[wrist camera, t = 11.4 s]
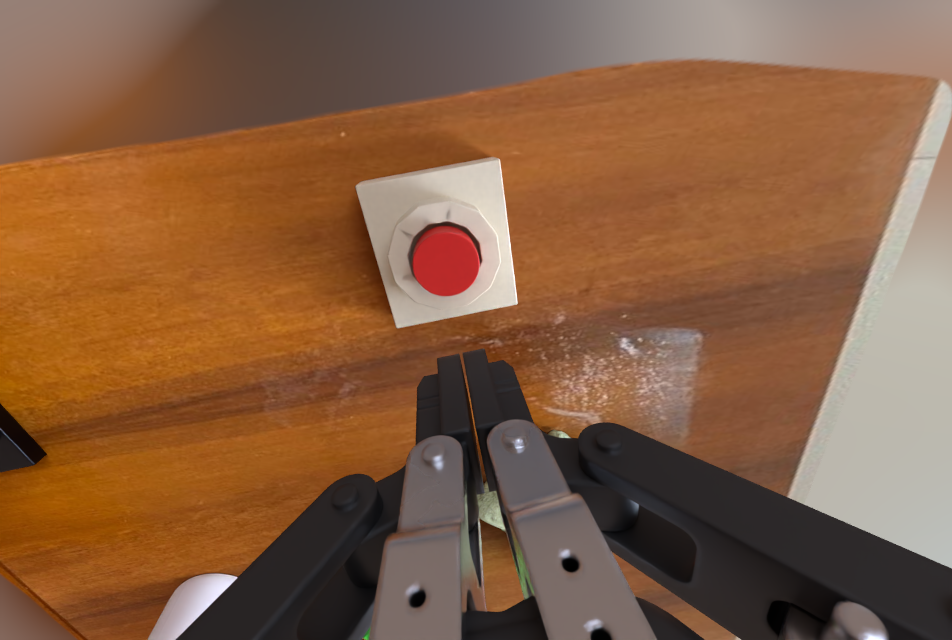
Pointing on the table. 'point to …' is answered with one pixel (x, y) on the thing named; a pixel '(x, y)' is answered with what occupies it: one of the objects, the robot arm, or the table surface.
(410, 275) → the button box
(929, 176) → the table surface
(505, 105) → the table surface
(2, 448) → the bracket
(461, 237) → the button
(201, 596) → the cup
